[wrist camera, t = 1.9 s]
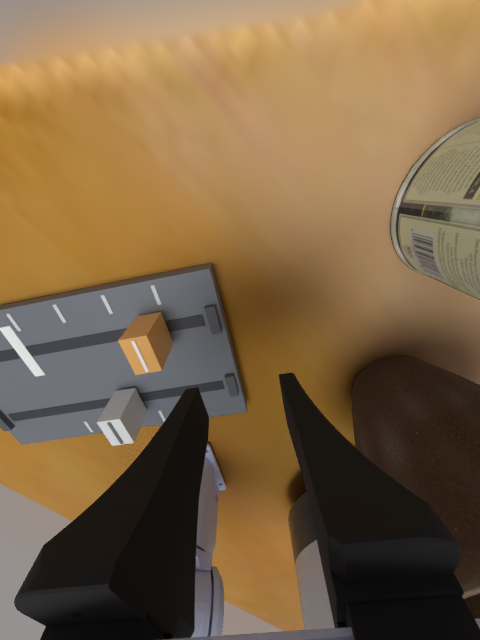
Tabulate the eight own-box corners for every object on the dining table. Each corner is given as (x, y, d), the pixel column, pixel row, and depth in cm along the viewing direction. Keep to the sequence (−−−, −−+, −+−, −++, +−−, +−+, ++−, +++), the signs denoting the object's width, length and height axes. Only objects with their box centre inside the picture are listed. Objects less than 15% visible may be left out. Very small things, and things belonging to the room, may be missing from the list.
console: (246, 400, 26) (247, 415, 25) (31, 432, 29) (18, 448, 27) (211, 262, 20) (208, 270, 18) (-70, 319, 22) (-97, 330, 20)
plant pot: (291, 359, 24) (367, 606, 10) (458, 289, 21) (927, 511, 7) (339, 446, 30) (427, 674, 16) (473, 404, 27) (730, 643, 13)
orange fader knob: (173, 343, 21) (161, 371, 18) (150, 347, 21) (134, 376, 18) (161, 311, 19) (146, 336, 16) (136, 316, 20) (117, 341, 16)
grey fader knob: (147, 410, 25) (133, 443, 21) (128, 413, 25) (111, 446, 22) (135, 387, 23) (119, 420, 20) (115, 391, 23) (95, 423, 20)
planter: (255, 490, 35) (269, 740, 19) (379, 420, 28) (554, 714, 13) (337, 535, 41) (398, 750, 25) (453, 487, 35) (630, 736, 19)
